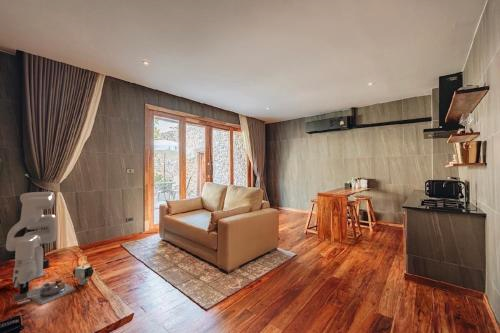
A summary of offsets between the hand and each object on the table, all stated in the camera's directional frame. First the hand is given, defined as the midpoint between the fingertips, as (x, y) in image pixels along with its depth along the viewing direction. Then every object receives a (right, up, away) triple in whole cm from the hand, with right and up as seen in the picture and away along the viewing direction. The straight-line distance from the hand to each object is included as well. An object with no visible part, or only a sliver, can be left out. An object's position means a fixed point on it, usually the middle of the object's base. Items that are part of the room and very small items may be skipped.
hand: (24, 293), depth 123 cm
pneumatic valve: (+20, -5, +18) cm, 28 cm away
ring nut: (+7, -2, +3) cm, 8 cm away
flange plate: (+9, -4, +4) cm, 11 cm away
